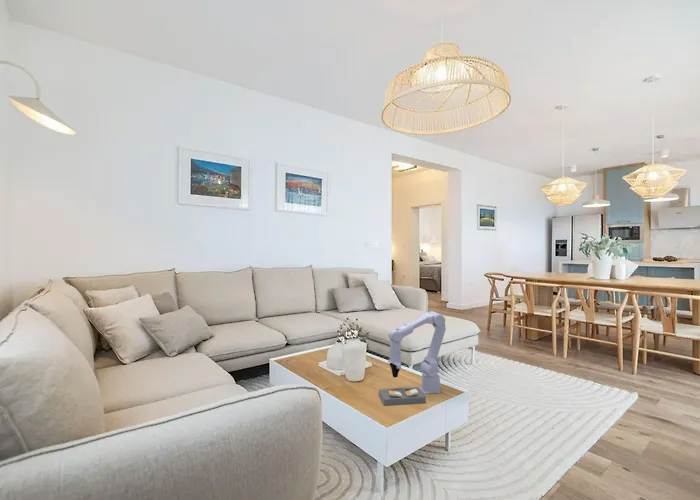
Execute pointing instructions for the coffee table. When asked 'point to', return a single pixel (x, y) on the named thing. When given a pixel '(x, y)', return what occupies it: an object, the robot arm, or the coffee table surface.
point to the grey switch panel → (397, 400)
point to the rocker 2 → (411, 392)
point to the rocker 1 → (395, 393)
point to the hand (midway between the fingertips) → (395, 376)
